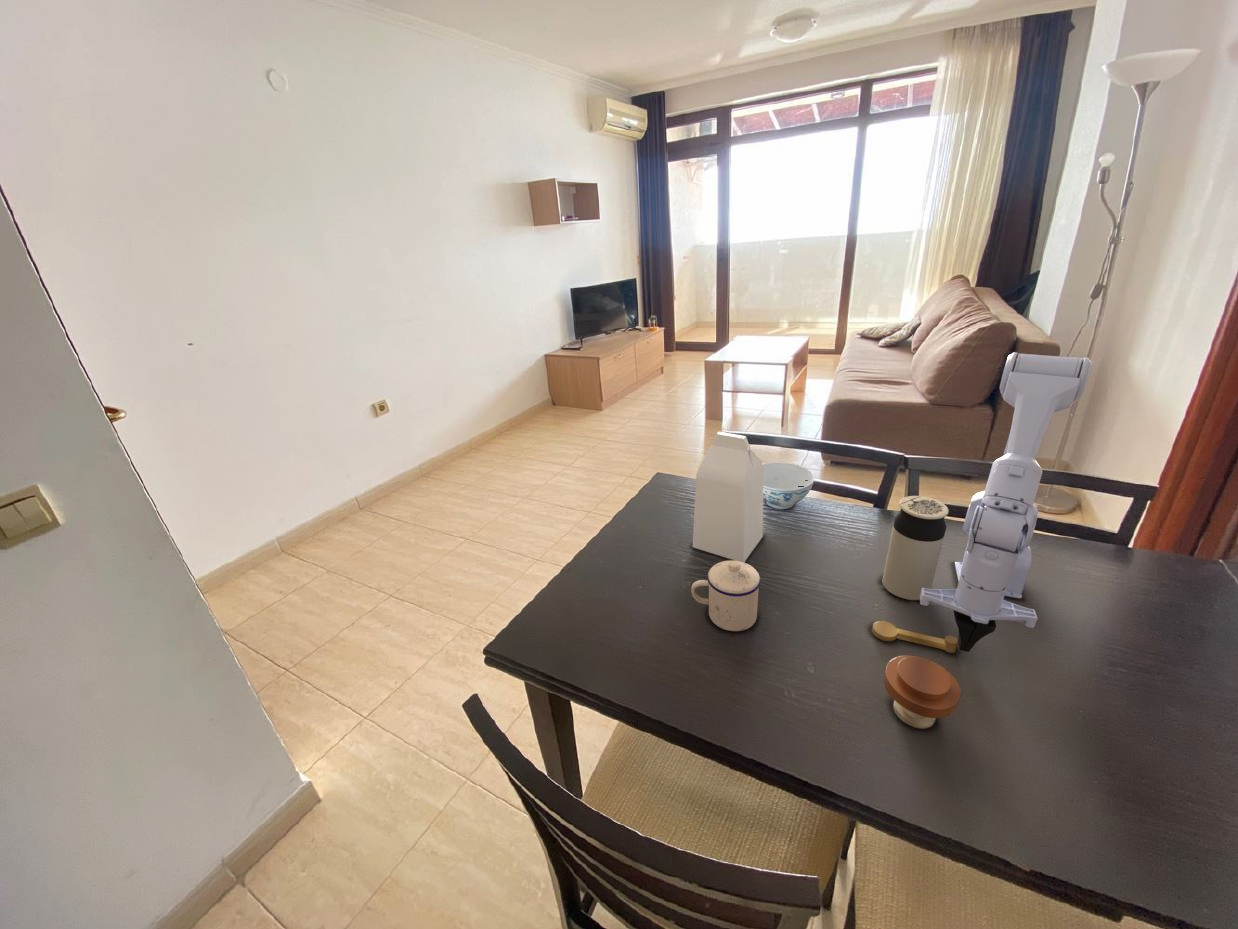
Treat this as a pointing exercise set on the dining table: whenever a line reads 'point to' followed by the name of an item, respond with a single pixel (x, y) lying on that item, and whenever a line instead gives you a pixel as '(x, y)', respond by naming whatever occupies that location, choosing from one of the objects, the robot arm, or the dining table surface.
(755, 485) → the milk
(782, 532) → the dining table surface
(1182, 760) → the dining table surface
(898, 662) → the mushroom
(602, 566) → the dining table surface
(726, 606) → the teacup with lid
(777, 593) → the dining table surface
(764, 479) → the chinaware
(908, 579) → the travel mug
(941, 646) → the spoon
